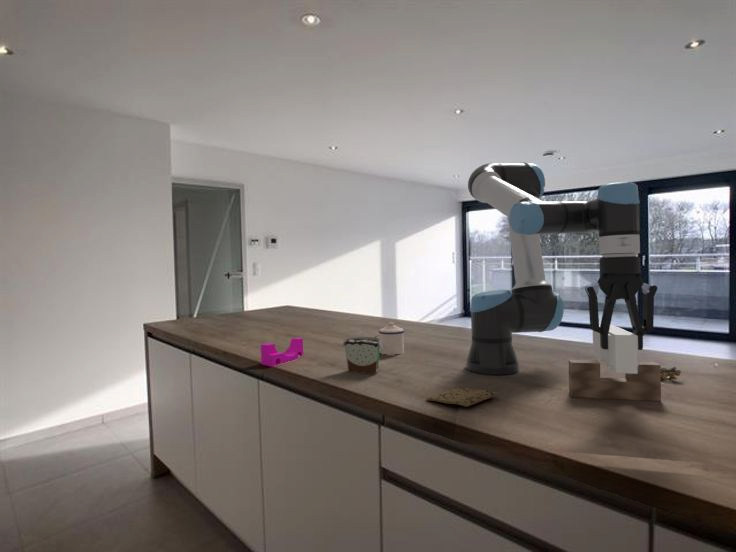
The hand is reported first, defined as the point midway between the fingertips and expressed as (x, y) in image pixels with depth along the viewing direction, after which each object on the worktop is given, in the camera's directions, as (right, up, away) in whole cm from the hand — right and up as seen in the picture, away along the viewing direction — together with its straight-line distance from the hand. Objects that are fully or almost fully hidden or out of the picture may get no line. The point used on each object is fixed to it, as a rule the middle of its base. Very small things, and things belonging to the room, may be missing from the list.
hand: (621, 364), depth 89 cm
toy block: (-83, -11, +51) cm, 98 cm away
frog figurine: (+22, -9, +21) cm, 32 cm away
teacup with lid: (-47, -10, +60) cm, 77 cm away
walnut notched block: (+2, -9, +6) cm, 11 cm away
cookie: (-33, -10, +8) cm, 35 cm away
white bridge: (+2, -1, +6) cm, 6 cm away
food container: (-55, -10, +37) cm, 67 cm away
